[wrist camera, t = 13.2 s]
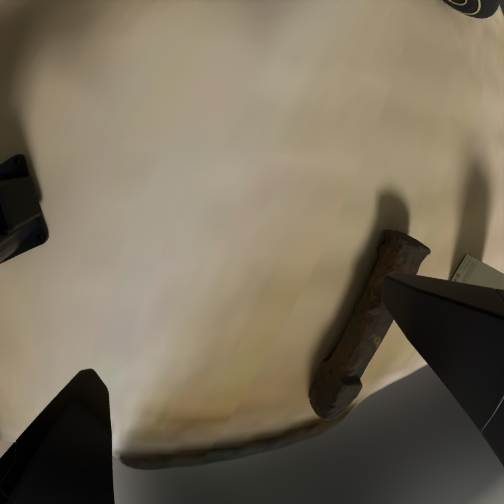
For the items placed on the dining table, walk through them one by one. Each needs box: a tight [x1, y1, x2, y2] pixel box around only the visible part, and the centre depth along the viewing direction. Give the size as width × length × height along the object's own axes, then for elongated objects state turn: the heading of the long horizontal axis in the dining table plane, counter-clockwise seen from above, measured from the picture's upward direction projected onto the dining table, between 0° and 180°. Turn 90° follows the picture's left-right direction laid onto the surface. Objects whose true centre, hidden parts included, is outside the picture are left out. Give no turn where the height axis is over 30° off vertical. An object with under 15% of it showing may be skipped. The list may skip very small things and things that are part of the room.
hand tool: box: [310, 230, 431, 421], centre depth 22 cm, size 19×4×5 cm, turn 159°
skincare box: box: [451, 254, 504, 290], centre depth 21 cm, size 6×4×12 cm
